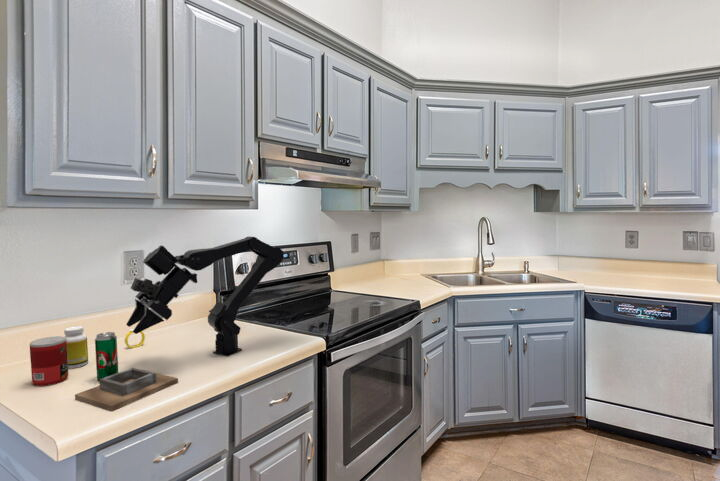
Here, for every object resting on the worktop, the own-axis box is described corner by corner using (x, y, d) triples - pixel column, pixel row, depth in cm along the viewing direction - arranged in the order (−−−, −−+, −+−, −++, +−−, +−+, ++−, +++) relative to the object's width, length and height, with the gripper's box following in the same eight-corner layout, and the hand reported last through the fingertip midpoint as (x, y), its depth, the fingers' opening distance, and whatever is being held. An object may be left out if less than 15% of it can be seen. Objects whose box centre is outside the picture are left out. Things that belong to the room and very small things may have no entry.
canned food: (69, 381, 116) (66, 341, 115) (31, 389, 111) (28, 346, 110) (68, 373, 122) (65, 334, 121) (32, 379, 118) (29, 339, 117)
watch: (128, 350, 142) (126, 333, 141) (124, 349, 144) (122, 331, 143) (146, 344, 147) (144, 327, 146) (142, 343, 149) (140, 326, 148)
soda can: (114, 372, 122) (111, 330, 121) (121, 377, 119) (119, 333, 118) (94, 378, 118) (91, 334, 117) (101, 383, 115) (99, 338, 114)
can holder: (142, 373, 121) (142, 360, 121) (178, 382, 115) (177, 368, 114) (75, 399, 105) (74, 384, 105) (112, 411, 99) (111, 395, 98)
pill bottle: (92, 363, 129) (90, 326, 129) (70, 370, 124) (68, 332, 123) (81, 360, 133) (79, 324, 132) (59, 366, 127) (56, 329, 126)
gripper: (142, 264, 131) (101, 306, 125) (157, 271, 116) (112, 318, 110) (170, 287, 136) (133, 328, 130) (189, 296, 121) (147, 343, 115)
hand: (130, 329), depth 121 cm, fingers open, 9 cm apart
